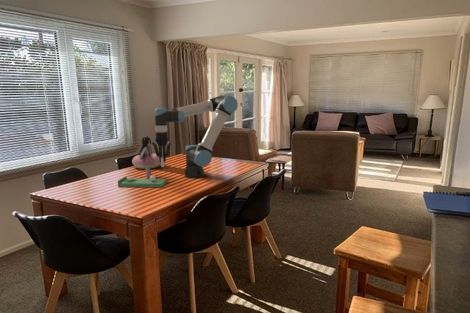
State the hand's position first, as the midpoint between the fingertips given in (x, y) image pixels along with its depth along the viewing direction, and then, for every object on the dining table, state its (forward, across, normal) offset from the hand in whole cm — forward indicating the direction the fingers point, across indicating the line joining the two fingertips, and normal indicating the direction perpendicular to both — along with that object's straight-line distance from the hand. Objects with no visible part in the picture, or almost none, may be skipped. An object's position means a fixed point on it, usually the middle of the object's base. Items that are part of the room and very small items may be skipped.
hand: (163, 166), depth 221 cm
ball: (+8, +8, 0) cm, 11 cm away
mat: (+13, +15, 0) cm, 19 cm away
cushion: (+13, +31, -53) cm, 63 cm away
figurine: (+13, +19, -21) cm, 31 cm away
